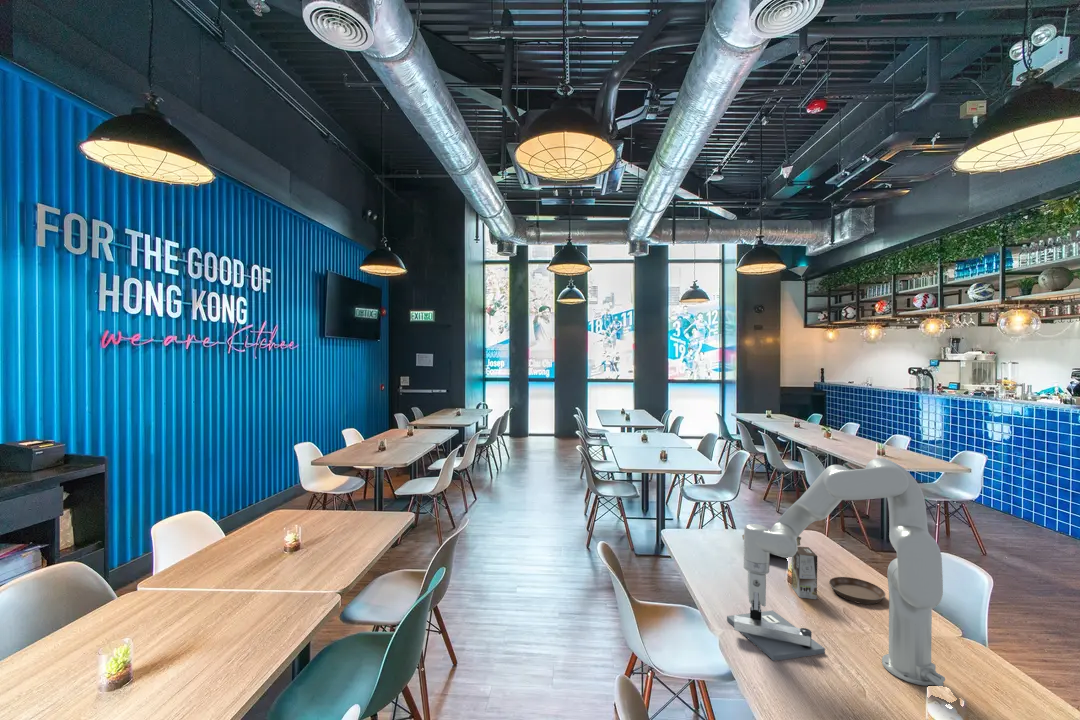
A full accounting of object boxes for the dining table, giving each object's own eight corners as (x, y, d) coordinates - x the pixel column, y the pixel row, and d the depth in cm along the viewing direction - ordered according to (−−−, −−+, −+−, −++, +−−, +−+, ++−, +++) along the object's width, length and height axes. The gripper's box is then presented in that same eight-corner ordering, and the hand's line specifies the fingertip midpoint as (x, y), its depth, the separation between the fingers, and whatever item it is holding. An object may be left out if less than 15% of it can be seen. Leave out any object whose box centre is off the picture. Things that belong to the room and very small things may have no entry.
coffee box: (817, 599, 172) (818, 556, 172) (798, 597, 174) (799, 554, 174) (808, 588, 181) (809, 546, 181) (790, 586, 183) (791, 545, 183)
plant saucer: (849, 607, 168) (849, 598, 168) (819, 583, 186) (819, 576, 186) (897, 607, 168) (897, 599, 168) (862, 584, 186) (862, 576, 186)
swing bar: (810, 643, 142) (810, 628, 142) (812, 650, 139) (812, 635, 139) (734, 626, 151) (734, 613, 151) (734, 633, 147) (734, 619, 147)
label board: (824, 653, 140) (824, 647, 140) (773, 661, 136) (773, 654, 136) (772, 614, 162) (772, 609, 162) (726, 620, 157) (727, 615, 157)
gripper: (770, 576, 141) (769, 637, 141) (768, 558, 155) (767, 613, 155) (743, 571, 145) (742, 630, 144) (743, 554, 158) (743, 608, 158)
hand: (755, 621), depth 150 cm, fingers closed
